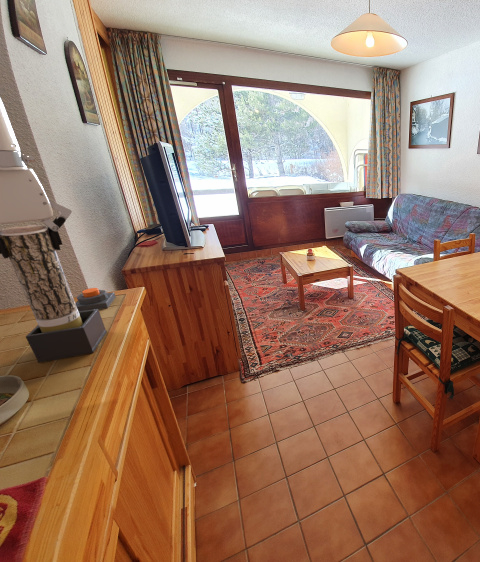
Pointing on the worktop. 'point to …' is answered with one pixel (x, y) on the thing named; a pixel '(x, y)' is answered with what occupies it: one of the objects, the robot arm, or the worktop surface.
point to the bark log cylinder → (41, 277)
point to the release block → (95, 301)
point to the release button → (90, 292)
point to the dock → (68, 339)
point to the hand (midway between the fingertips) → (32, 252)
